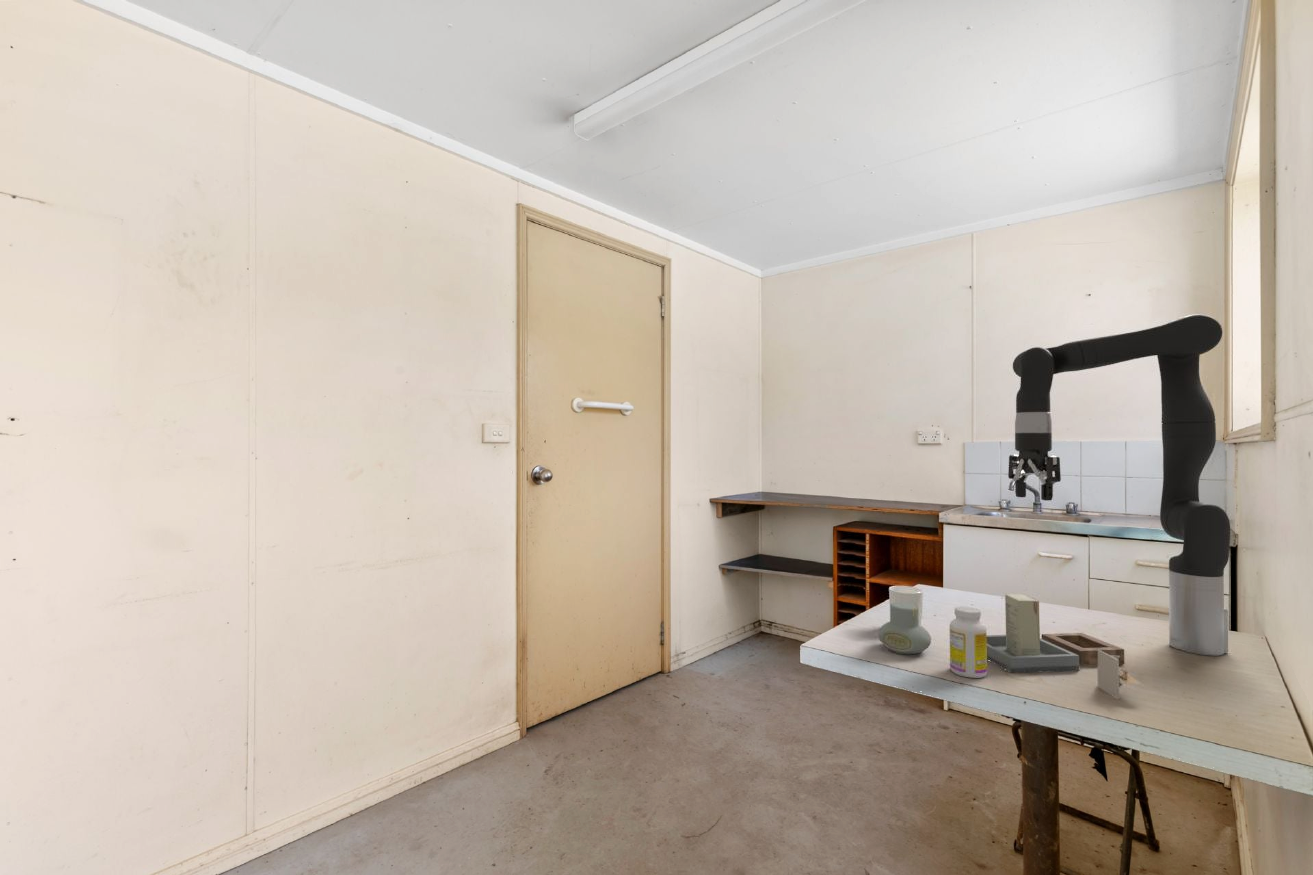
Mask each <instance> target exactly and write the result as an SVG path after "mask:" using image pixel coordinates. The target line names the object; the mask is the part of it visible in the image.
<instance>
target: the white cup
mask: <svg viewBox="0 0 1313 875" xmlns="http://www.w3.org/2000/svg"><path fill="white" fill-rule="evenodd" d="M888 592H889V593H888V595H889V606H890V605H891V604H892V603H898V602H901V603H910V604H913V605H916V606H917V607H918V618H919V625H920V626H922V619H923V618H922V617H923V607H924V606H923V604H924V603H923V601H924V590H923V589H922V588H919V587H915V586H908V585H893V586H889V588H888Z"/></svg>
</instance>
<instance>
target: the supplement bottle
mask: <svg viewBox="0 0 1313 875" xmlns="http://www.w3.org/2000/svg"><path fill="white" fill-rule="evenodd" d="M981 613H982V612H981V610H980V609H979V608H976V607H972V606H965V605H964V606H955V607H954V616H955V618H954V619H952V620H951V621H950V622H949V667H950V670H951V671H952V672H953V673H954V674H956V675H958V676H961V677H965V678H970V679H972V678H973V679H981V678H984V677H986V676H987V675H988V660H987V635H988V633H987V627H986V625H985V624H984V623H983V622H981V616H982V614H981Z"/></svg>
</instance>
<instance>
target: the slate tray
mask: <svg viewBox="0 0 1313 875" xmlns="http://www.w3.org/2000/svg"><path fill="white" fill-rule="evenodd" d="M988 660H990V661H991V662H990V661H989V662H990V663H992V662H993V663H992V664H994V663H995V664H996V666H997V665H998V667H999V666H1000V668H1001V667H1002V668H1001V669H1003V670H1004V669H1006V670H1005V671H1006V672H1008V671H1009V672H1008V673H1010V674H1017V673H1016V672H1025V673H1040V672H1039V671H1043V672H1042V673H1045V672H1044V671H1050V672H1068V671H1069V672H1070V671H1073V672H1074V671H1080V665H1079V655H1077V654H1074V653H1072V652H1070V651H1068V650H1065V649H1063V648H1061V647H1059V646H1056V645H1054V644H1052V643H1049V642H1047V641H1045V640H1043V639H1042V638H1040V655H1032V656H1016V655H1014V654H1013V653H1011V652H1010V651H1008V650H1007V649H1006V634H987V661H988ZM995 664H994V665H995Z"/></svg>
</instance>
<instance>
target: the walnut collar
mask: <svg viewBox="0 0 1313 875" xmlns="http://www.w3.org/2000/svg"><path fill="white" fill-rule="evenodd" d="M1041 639H1043V640H1045V641H1047V642H1049V643H1052V644H1054V645H1056V646H1059V647H1061V648H1063V649H1065V650H1068V651H1070V652H1072V653H1074V654H1077V655H1079V666H1098V650H1100V651H1102V652H1104V653H1106V654H1108V655H1110V656H1120V657H1119V658H1118V660H1119V665H1120V664H1121V663H1122V662H1123V663H1122V664H1121V665H1124V664H1125V648H1123V647H1119V646H1117V645H1114V644H1113V643H1109V642H1107V641H1104V640H1101V639H1099V638H1096V637H1093V636H1091V635H1088V634H1086V633H1083V632H1067V633H1065V632H1063V633H1042V634H1041Z"/></svg>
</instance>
